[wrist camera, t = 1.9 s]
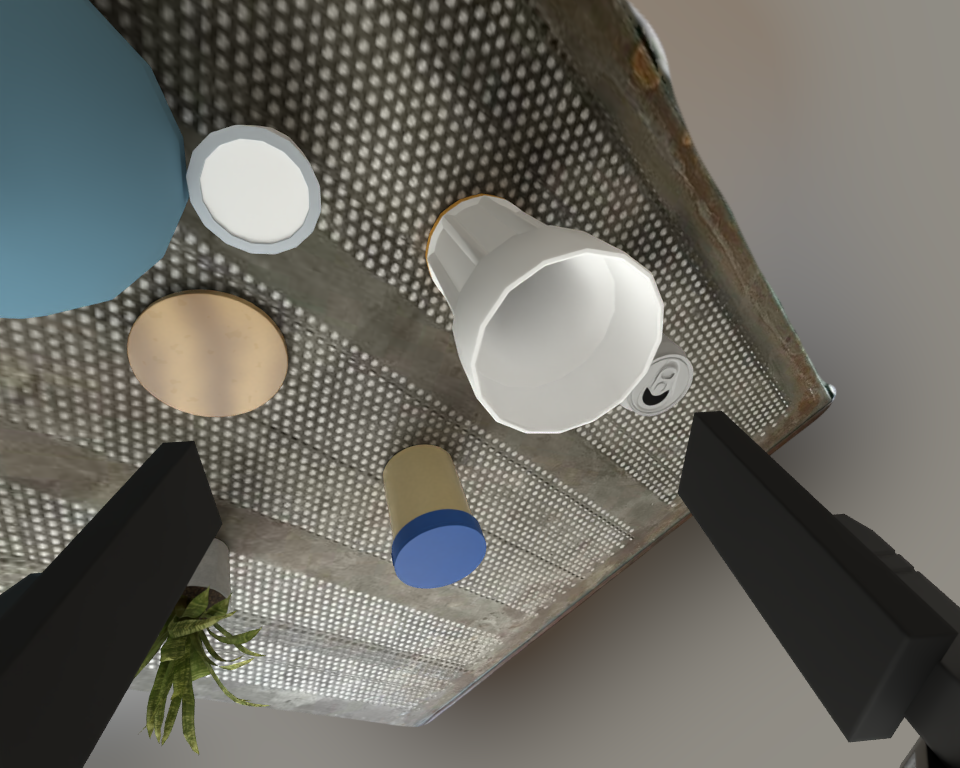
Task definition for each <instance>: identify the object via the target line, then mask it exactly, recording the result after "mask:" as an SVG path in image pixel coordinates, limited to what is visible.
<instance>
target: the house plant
mask: <svg viewBox="0 0 960 768" xmlns="http://www.w3.org/2000/svg"><path fill="white" fill-rule="evenodd" d="M231 594H232V593H231V585H230V564H229V550H228V547H227V546H226V545H225V543H224V542H222V541H220V540H219V539H216V538H214V539H213V541H212V543H211V545H210V546H209V548H208V550H207V551H206V553H205V555H204V557H203V558H202V560H201V562H200V564H199V565H198V567H197V569H196V571H195V572H194V574H193V576H192V578H191V579H190V581H189V583H188V585H187V586H186V588H185V590H184V592H183V593H182V595H181V597H180V599H179V600H178V602H177V604H176V606H175V607H174V609H173V611H172V613H171V614H170V616H169V618H168V620H167V621H166V623H165V625H164V627H163V628H162V630H161V632H160V634H159V636H158V637H157V639H156V641H155V642H154V644H153V646H152V648H151V649H150V651H149V653H148V655H147V656H146V658H145V660H144V661H143V663H142V665H141V667H140V668H139V670H138V672H137V674H136V675H135V677H136V676H137V675H138V674H139V672H140V671H141V670H142V669H143V668H144V667H145V666H146V665H147V664H148V663H149V662H150V660H151V659H152V658H153V657H154V655H155V654H156V653H157V652H158V650H159V649H160V647H161V645H162V644H163V642H164V641H165V640H166V638H167V637H168V638H167V641H166V643H165V644H164V645H163V646H162V648H161V659H160V661H161V663H160V666H159V669H158V672H157V675H156V678H155V682H154V685H153V688H152V691H151V694H150V696H149V701H148V706H147V719H146V720H147V725H146V726H147V730H148V733H149V737H151V734H152V732H153V729H155V734H156V737H157V740H158V742H159V741H160V737H161V725H162V722H163V718H164V709H165V703H166V698H167V695H168V692H169V690H170V688H171V686H172V683H173V688H174V693H173V695H172V697H171V700H172V701H171V704H170V708H169V711H168V714H167V718H166V721H165V727H164V735H163V738H162V745H163V744H164V742H165V741H166V739H167V738H168V736H169V734H170V732H171V730H172V727H173V724H174V722H175V719H176V716H177V713H178V709H179V706H180V703H181V699H182V726H183V734H184V736H185V738H186V740H187V742H188V743H189V744H190V746H191V748H192V750H193V751H194V752H196V753H198V754H199V751H198V747H197V743H196V737H195V729H194V706H195V699H194V694H193V688H192V681H194V680H196V679H198V678H201V677H204V676H207V675H210V674H211V675H212V676H213V678H214V679H215V681H216V682H217V684H218V685H219V687H220V688H221V689H222V691H223V692H224V693H225V694H226V695H227V696H228V697H229V698H231V699H232V700H233V701H234V702H237V703H240V704H242V705H248V706H258V707H262V706H270V705H259V704H253V703H248V702H245V701H250V700H242V699H238V698H236V697H235V696H234V695H232V694H231V693H230V692H229V691H227V689H226V688H225V687H224V686H223V685H222V683H221V682H220V680H219V679H218V677H217V676H216V674H215V672H214V671H213V669H212V667H211V665H210V664H212V665H215V666H217V665H216V664H215V663H214V662H212V661H211V660H210V659H209V658H208V657H207V656H206V654H205V652H204V649H203V647H202V641H203V643H204V644H205V646H206V648H207V650H208V652H209V653H210V654H211V655H212V656H213V657H214V658H215V659H217V660H219V661H226V660H224V659H222V658H221V657H220V656H219V655H218V654H217V653H216V652H215V651H214V649H213V648H212V647H211V645H210V643H209V641H208V639H207V637H206V635H205V633H204V631H203V630H206V629H207V630H208V632H209V634H210V635H212V636H213V637H214V638H216V639H217V640H219V641H220V642H223V643H226V644H234V645H235V646H236V647H237V648H238V649H239V650H240V651H241V652H243V653H245V654H248V655H253V656H265V655H261V654H257V653H254V652H251V651H249V650H248V649H246V648H245V647H244V646H242V645H241V644H242V643H246V642H248V641H250V640H251V639H252V638H253V637H255V636H256V635H257V633H258V632H259V631H260V629H261V628H262V627H261V628H260V629H256V630H252V631H249V632H246V633H243V634H239V635H235V636H232V635H231V634H230V633H229V632H227V631H226V630H224V629H223V628H222V627H221V626H220V625H219V624H218V623H220V622H221V621H222V620H223V619H225V618H227V617H229V616H231V615H233V614H234V613H235V612H236V611H234V612H231V613H229V612H230V610H231ZM213 626H214V627H215V628H216V629H217V630H219V631H220V632H221V633H222V634H224V635H225V636H226V637H222V636H218V635H216V634H214V633H213V632H211V631H210V630H209V628H211V627H213ZM201 639H202V640H201ZM243 656H244V655H243ZM241 657H242V656H241ZM241 657H239V658H236V659H234V660H230V661H229V662H232V661H235V660H238V659H240V658H241ZM253 659H254V658H252V659H249V660H246V661H243V662H240V663H237V664H233V665H229V666H219V667H221V668H223V669H227V670H233V669H236V668H238V667H241V666H243V665H245V664H247V663H249V662H250V661H251V660H253ZM135 677H134V678H135Z"/></svg>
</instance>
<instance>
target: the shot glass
mask: <svg viewBox="0 0 960 768" xmlns="http://www.w3.org/2000/svg"><path fill="white" fill-rule="evenodd" d="M186 178H187V184H188V190H189V196H190V202H191V204H192V205H193V207H194V209H195V210H196V212H197V214H198V215H199V217H200V218H201V220H202V222H203V223H204V225H205V226H206V227H207V228H208V229H209V230H211V231H212V232H213V233H214V234H215V235H217V236H218V237H219V238H220V239H221V240H223V241H224V242H225V243H226V244H229V245H231V246H234V247H236V248H239V249H241V250H244V251H246V252H249V253H257V254H277V253H280V252H283V251H286V250H289V249H292V248H295V247H297V246H298V245H299V244H300V243H301V242H302V241H303V240H305V239H306V238H307V237H308V236H309V235H310V234H311V233H312V232H313V230H314V227H315V225H316V222H317V220H318V217H319V215H320V212H321V199H320V186H319V183H318V181H317V179H316V176H315V174H314V172H313V169H312V167H311V165H310V163H309V161H308V159H307V158H306V156H305V155H304V153H303V152H302V150H301V149H300V148H299V147H298V146H297V145H296V144H295V143H294V142H293V141H292V140H291V139H290V137H289V136H287V135H285V134H283V133H281V132H279V131H277V130H275V129H273V128H272V127H264V126H255V125H234V126H231V127H227V128H224V129H221V130H218V131H215V132H212V133H210V134H209V135H208V136H207V137H206V138H205V139H204V140H203V141H202V142H201V143H200V144H199V145H198V146H197V147H196V148H195V149H194V150H193V152H192V156H191V160H190V163H189V167H188V170H187V174H186Z"/></svg>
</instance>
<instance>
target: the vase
mask: <svg viewBox="0 0 960 768" xmlns="http://www.w3.org/2000/svg"><path fill="white" fill-rule="evenodd" d="M186 174H187V171H186V161H185V151H184V141H183V136H182V134H181V132H180V130H179V127H178V125H177V123H176V121H175V119H174V117H173V114H172V112H171V110H170V108H169V106H168V104H167V101H166V99H165V97H164V95H163V93H162V91H161V88H160V86H159V84H158V82H157V80H156V78H155V75H154V73H153V71H152V69H151V67H150V66H149V65H148V64H147V62H146V61H145V60H144V59H143V58H142V57H141V56H140V55H139V54H138V53H137V52H136V51H135V50H134V49H133V47H132V46H131V45H130V44H129V43H128V42H127V41H126V40H125V39H124V38H123V37H122V36H121V35H120V34H119V32H118V31H117V30H116V29H115V28H114V27H113V26H112V25H111V24H110V23H109V22H108V21H107V20H106V18H105V17H104V16H103V15H102V14H101V13H100V12H99V11H98V10H97V9H96V8H95V7H94V6H93V5H92V3H91V2H90V1H89V0H0V318H19V319H23V318H31V317H40V316H47V315H51V314H55V313H59V312H64V311H68V310H72V309H76V308H80V307H84V306H88V305H92V304H97V303H101V302H105V301H109V300H112V299H113V298H115V297H116V296H117V295H119V294H120V293H121V292H122V291H124V290H125V289H126V288H127V287H128V286H130V285H131V284H132V283H133V282H134V281H136V280H137V279H138V278H139V277H140V276H141V275H143V274H144V273H145V272H146V271H147V270H149V269H150V268H151V267H152V266H153V265H154V264H156V263H157V262H158V261H159V260H160V259H162V258H163V256H164V254H165V252H166V250H167V247H168V245H169V243H170V240H171V238H172V236H173V233H174V231H175V229H176V226H177V224H178V222H179V220H180V217H181V215H182V213H183V210H184V208H185V206H186V203H187V201H188V199H189V192H188V184H187V178H186Z"/></svg>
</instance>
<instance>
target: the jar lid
mask: <svg viewBox="0 0 960 768" xmlns="http://www.w3.org/2000/svg"><path fill="white" fill-rule="evenodd" d="M485 552H486V541H485V538H484V536H483V533H482V530H481V528H480V525H479V523H478V521H477V520H476V519H475V517H473V516H472V515H471V514H469V513H467V512H464V511H461V510H456V509H441V510H435V511H431V512H428V513H425V514H422V515H420V516H418V517H416V518H415V519H413V520H411V521H410V522H408V523H407V524H406V525H405V526H404V527H403V528H402V529H401V530H400V531H399V532H398V534H397V535H396V537H395V539H394V541H393V544H392V553H391V555H392V561H393V566H394V567H395V572H396V574H397V576H398V578H399V579H400V580H401V581H402V582H404V583H405V584H407V585H409V586H412V587H416V588H437V587H442V586H446V585H449V584H452V583H454V582H457V581H459V580H461V579H462V578H464V577H466V576H467V575H469V574H470V573H471V572H472V571H474V570H475V569H476V568H477V567H478V565H479V564H480V563H481V561H482V560H483V558H484V556H485Z"/></svg>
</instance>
